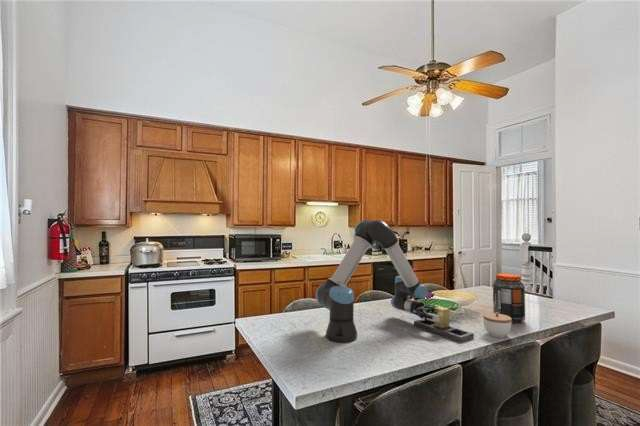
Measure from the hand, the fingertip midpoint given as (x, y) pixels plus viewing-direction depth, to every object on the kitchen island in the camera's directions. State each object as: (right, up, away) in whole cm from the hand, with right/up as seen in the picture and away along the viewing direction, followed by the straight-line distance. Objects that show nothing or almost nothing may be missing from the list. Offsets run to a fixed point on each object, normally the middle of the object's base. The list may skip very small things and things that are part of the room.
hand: (447, 316), depth 160 cm
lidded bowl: (+24, -9, -1) cm, 26 cm away
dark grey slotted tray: (-2, -9, +3) cm, 9 cm away
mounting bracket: (+2, -10, +49) cm, 50 cm away
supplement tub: (+44, -10, +23) cm, 51 cm away
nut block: (-2, -9, +3) cm, 9 cm away
